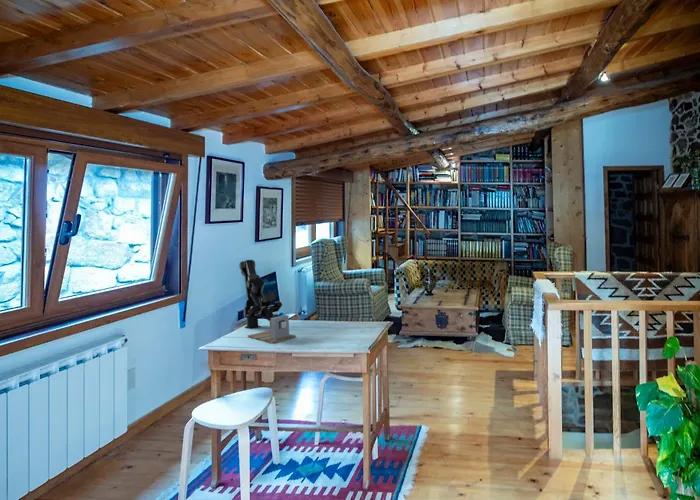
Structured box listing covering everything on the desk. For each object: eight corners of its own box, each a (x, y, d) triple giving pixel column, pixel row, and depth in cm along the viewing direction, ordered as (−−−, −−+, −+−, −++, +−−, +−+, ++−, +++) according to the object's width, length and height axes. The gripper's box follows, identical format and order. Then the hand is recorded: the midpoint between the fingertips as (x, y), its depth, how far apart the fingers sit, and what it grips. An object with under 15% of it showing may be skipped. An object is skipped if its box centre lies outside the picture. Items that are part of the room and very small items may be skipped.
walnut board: (247, 337, 255) (247, 335, 255) (270, 331, 266) (270, 329, 266) (272, 343, 242) (272, 341, 242) (295, 337, 253) (295, 335, 253)
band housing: (270, 338, 247) (270, 318, 247) (284, 335, 254) (284, 314, 253) (275, 339, 245) (274, 318, 244) (289, 336, 252) (288, 315, 251)
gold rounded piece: (269, 328, 251) (269, 318, 250) (277, 326, 254) (277, 316, 254) (280, 330, 245) (279, 320, 245) (288, 328, 249) (287, 318, 248)
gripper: (250, 290, 248) (264, 315, 241) (279, 286, 261) (294, 309, 255) (241, 304, 254) (255, 329, 247) (270, 299, 267) (284, 322, 261)
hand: (272, 321), depth 252 cm, fingers closed, pressing on gold rounded piece
